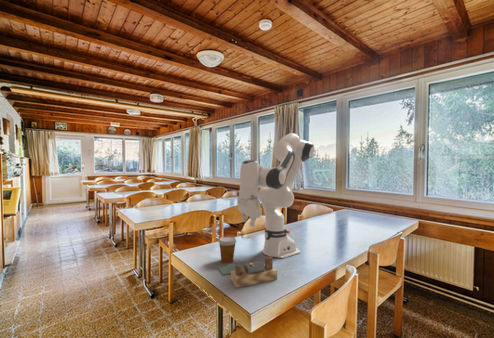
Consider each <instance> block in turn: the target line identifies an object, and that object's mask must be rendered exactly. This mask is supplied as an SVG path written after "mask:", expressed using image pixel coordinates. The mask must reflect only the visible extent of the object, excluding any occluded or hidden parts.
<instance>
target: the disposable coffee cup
mask: <svg viewBox="0 0 494 338" xmlns="http://www.w3.org/2000/svg"><path fill="white" fill-rule="evenodd" d="M236 243H237V240H236V237H233V236H222V237H219V240H218V244H219V250H220V258H221V259H220V261H221V263H223V264H232V263H233V262H234V256H235V248H236Z"/></svg>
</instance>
